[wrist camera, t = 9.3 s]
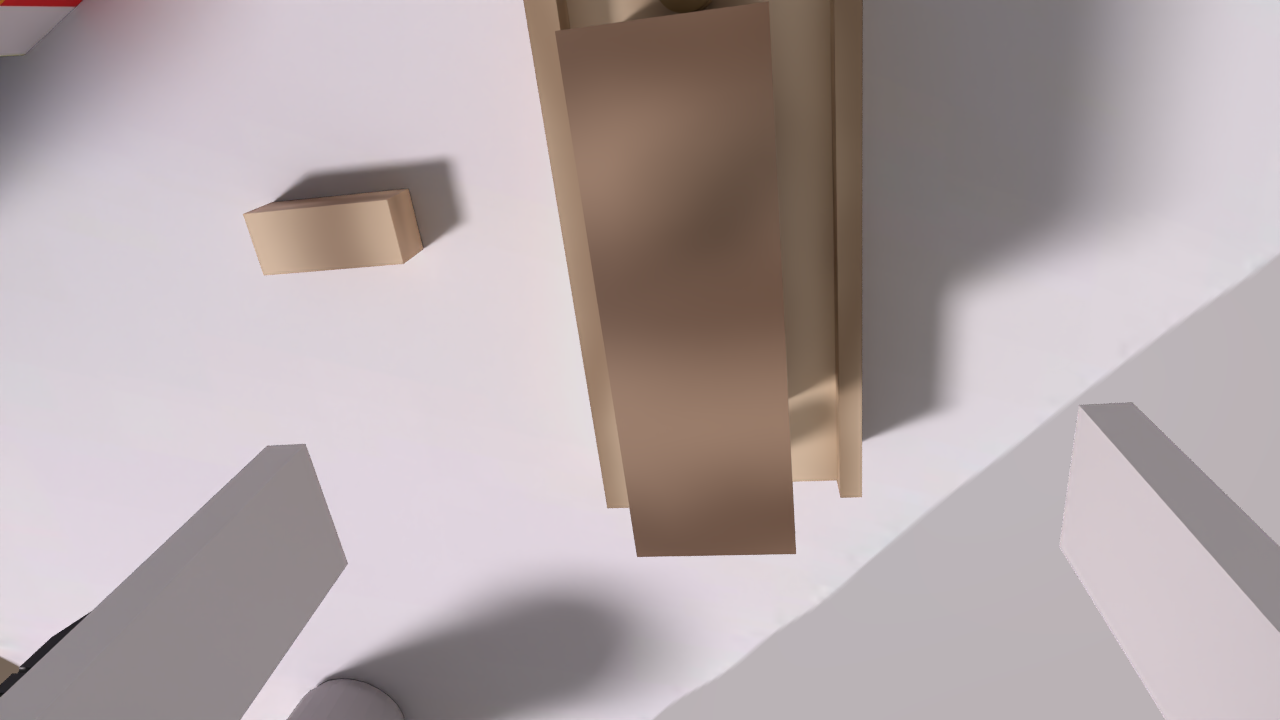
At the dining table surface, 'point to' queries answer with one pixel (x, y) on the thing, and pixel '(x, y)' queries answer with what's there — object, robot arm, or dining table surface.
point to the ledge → (808, 208)
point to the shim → (335, 232)
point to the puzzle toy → (29, 22)
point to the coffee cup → (346, 703)
